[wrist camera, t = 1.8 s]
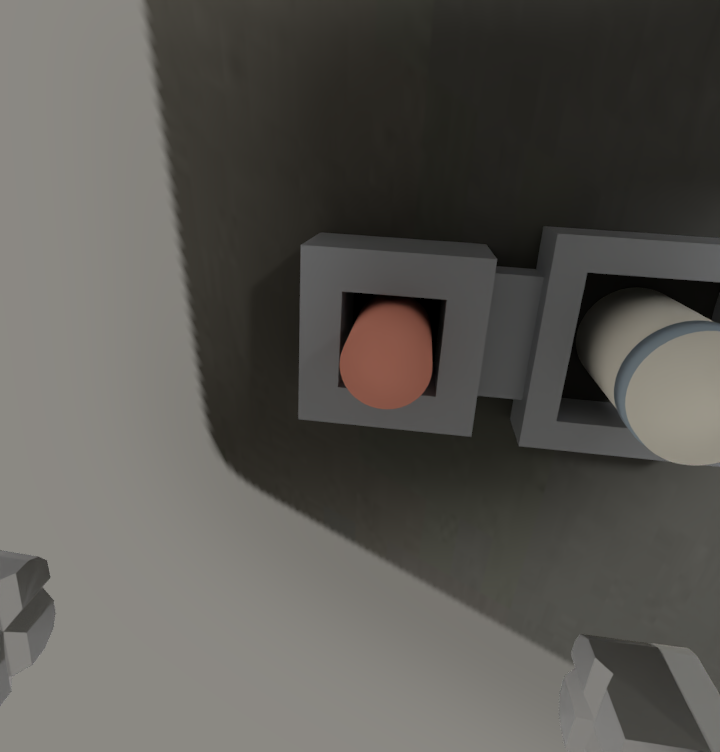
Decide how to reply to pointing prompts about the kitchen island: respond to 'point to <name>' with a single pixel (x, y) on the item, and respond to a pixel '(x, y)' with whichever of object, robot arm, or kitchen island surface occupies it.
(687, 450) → the cartridge
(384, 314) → the plunger
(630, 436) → the housing
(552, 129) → the kitchen island surface
